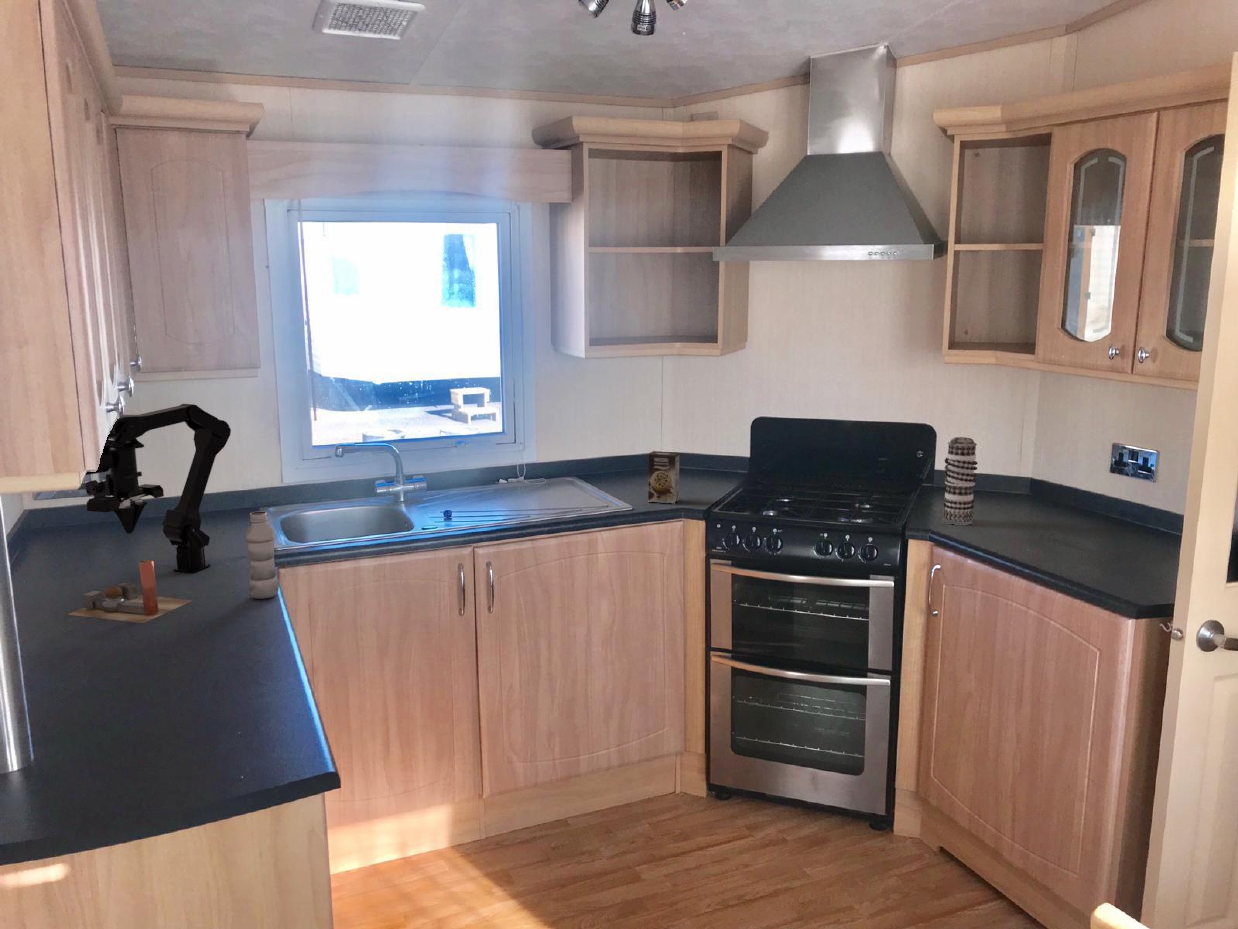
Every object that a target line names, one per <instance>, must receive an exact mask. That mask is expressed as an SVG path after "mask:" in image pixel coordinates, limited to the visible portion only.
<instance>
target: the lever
mask: <svg viewBox="0 0 1238 929" xmlns="http://www.w3.org/2000/svg"><path fill="white" fill-rule="evenodd" d="M138 564H139V565H138V567H139V575H140V576H139V577H140V584H141V593H142V594H141V595H142V596H143V603H141V602H132V601H125V600H124V597H110V598H104V596H103V591H99V590H92V591H91V590H90V591H88V592H86V593H84V594H82V602H83V608H89V609H94V608H97V609H103V611H105V612H114V611H122V612H131V613H140V614H145V615H152V614H156V613H158V612H159V610H158V600H157V597H158V593H157V591H158V590H157V583H156V582H157V581H156V573H155V564H154V560H153V559H146V560H145V559H144V560H141V561H139V562H138Z"/></svg>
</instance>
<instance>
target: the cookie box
mask: <svg viewBox="0 0 1238 929" xmlns="http://www.w3.org/2000/svg"><path fill="white" fill-rule="evenodd" d="M647 456H648V461H647V462H648V463H647V464H648V470H647V471H648V474H647V476H648V477H647V484H648V486H647V494H648V496H647V497H648V498H647V503H648V502H661V503H675V502H676V501H677V500H679V501H680V456H681V454H680V452H679V451H678V452H676V451H674V452H673V451H659V450H658V451H657V450H656V451H655V450H653V451H651V452H649V453H648V455H647Z"/></svg>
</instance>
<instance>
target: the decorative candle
mask: <svg viewBox="0 0 1238 929" xmlns="http://www.w3.org/2000/svg"><path fill="white" fill-rule="evenodd" d="M947 444H948V449H947V450H948V451H947V456H945V459H944V460H943V461H944V463H945V466H944V475H945V478H944V483H945V485H946V486H945V492H944V498H943V502H944V503H942V505H943V507H944V508H943V509H942V513H943V514H942V518H943V519H944V518H945V519H946V520H954V521H960V522H962V521H964V522H966V521H967V522H969V521H972V520H973V519H974V516H973V515H974V510H973V508H975V506H974V503H975V500H974V486H975V485H976V481H977V479H976V478H975V477H977V474H976V473H975V471H976V470H978V467H977V466H976V465H978V461H977V459H976V458H977V455H976V450H977V448H976V446H977V445H978V444H977V443H975V442H974V439H972V438H971V437H965V436H964V437H963V436H962V437H961V436H959V437H958V436H957V437H956V436H955V437H953V438H951V439H950V441H949V442H947Z"/></svg>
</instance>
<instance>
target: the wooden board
mask: <svg viewBox="0 0 1238 929" xmlns="http://www.w3.org/2000/svg"><path fill="white" fill-rule="evenodd" d="M116 586H117V587H119V588H121V590H122V592H123V595H122V597H124V600H125V601H132V602H141V603H143V596H142V594H138V585H137V584H133V583H129V582H122V583H118V584H117V585H116ZM157 600H158V610H159V612H158V613H156V614H152V615H145V614H140V613H131V612H122V611H114V612H105V611H103V609H97V608H94V609H89V608H84V607H83V608H80V609H78V610H75V611H73V612H70V613H68V614H67V615H68V616H77V617H86V618H96V619H104V620H111V621H121V622H129V623H130V622H131V623H136V624H137V623H138V624H145V623H146V622H149V621H152V620H153V619H156V618H157V617H160V616H162V615H164V614H167V613H169V612H171V611H174V610H175V609H178V608H180V607H182V606H184V605H187V604H189V603H192V602H193V600H190V599H180V598H170V597H162V596H157Z"/></svg>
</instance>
